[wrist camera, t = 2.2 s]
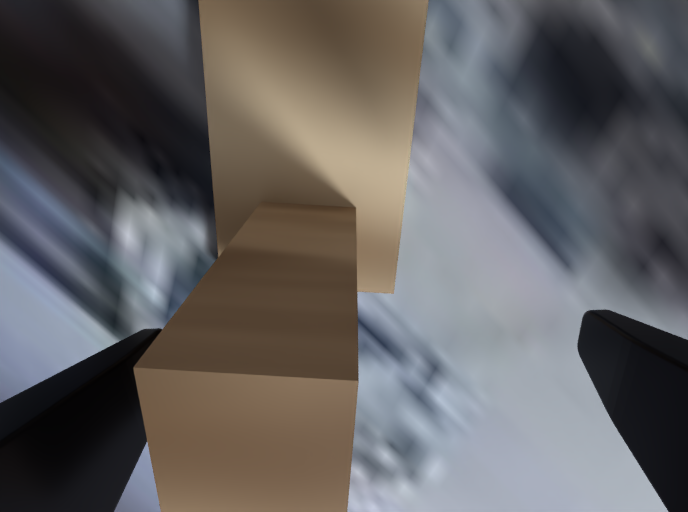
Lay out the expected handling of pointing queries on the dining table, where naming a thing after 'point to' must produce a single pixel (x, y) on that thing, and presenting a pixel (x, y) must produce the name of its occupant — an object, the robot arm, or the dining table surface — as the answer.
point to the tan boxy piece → (285, 252)
